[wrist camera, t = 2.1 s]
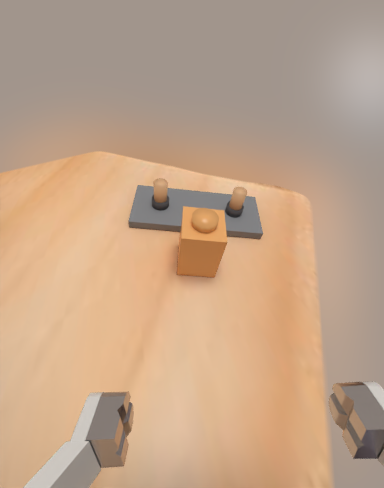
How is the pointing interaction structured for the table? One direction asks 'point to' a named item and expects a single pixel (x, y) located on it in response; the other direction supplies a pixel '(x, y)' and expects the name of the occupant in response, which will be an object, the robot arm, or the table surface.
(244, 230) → the mounting plate
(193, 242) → the orange toy brick
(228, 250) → the table surface
